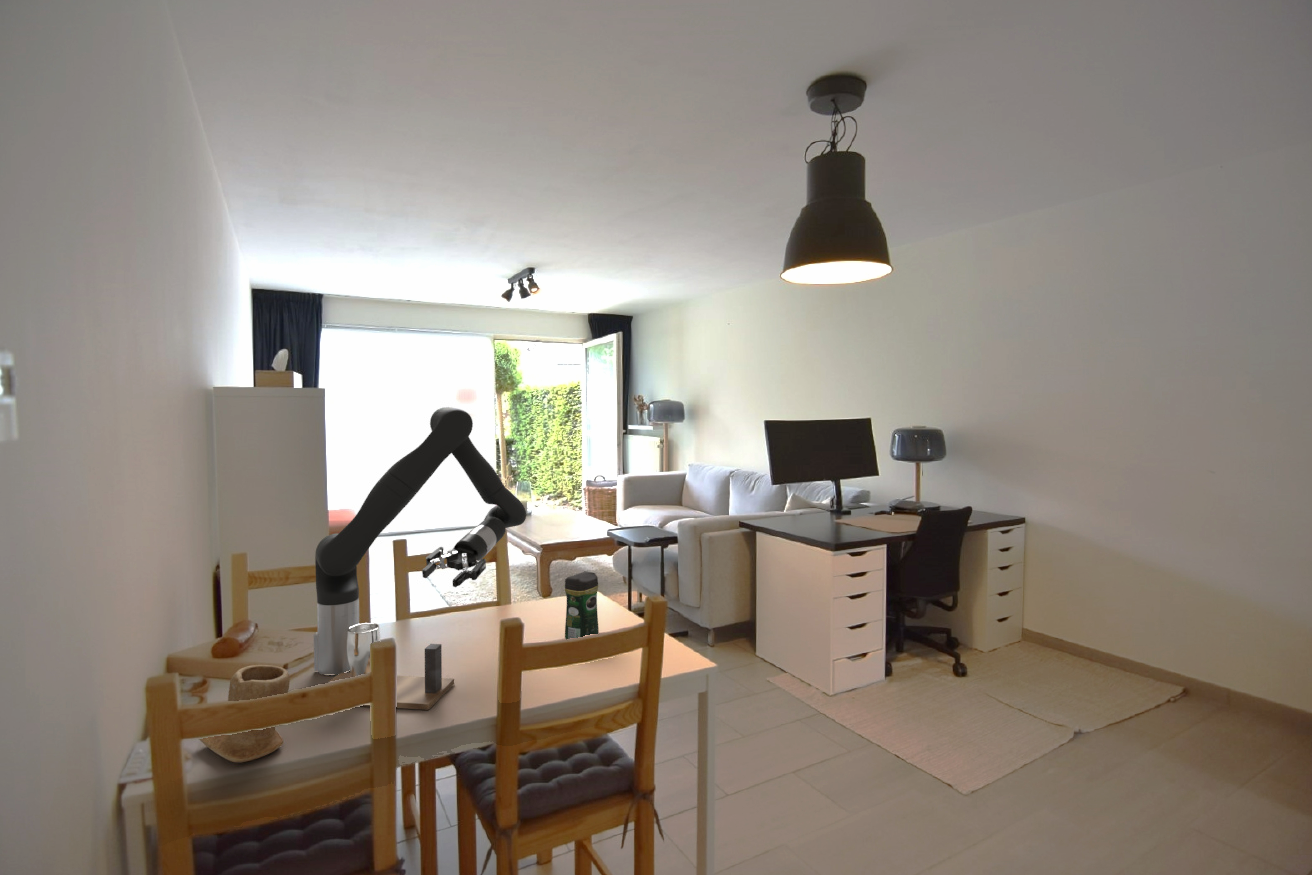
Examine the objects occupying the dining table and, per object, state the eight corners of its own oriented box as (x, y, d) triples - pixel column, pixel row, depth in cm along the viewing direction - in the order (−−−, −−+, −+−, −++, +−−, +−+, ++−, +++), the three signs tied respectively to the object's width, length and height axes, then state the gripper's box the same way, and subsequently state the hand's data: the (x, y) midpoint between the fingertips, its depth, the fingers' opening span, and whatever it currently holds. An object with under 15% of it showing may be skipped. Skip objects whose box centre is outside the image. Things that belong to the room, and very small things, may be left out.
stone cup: (302, 745, 120) (301, 668, 120) (232, 774, 110) (230, 691, 110) (265, 722, 129) (263, 650, 128) (197, 748, 119) (195, 670, 118)
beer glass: (387, 688, 145) (387, 624, 144) (364, 701, 138) (363, 634, 138) (364, 684, 147) (363, 620, 147) (340, 696, 141) (339, 630, 140)
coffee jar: (581, 630, 184) (581, 567, 184) (602, 635, 180) (603, 571, 179) (559, 640, 176) (559, 575, 175) (581, 646, 172) (581, 579, 171)
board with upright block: (305, 702, 137) (305, 651, 137) (341, 677, 150) (340, 631, 149) (428, 709, 134) (428, 658, 134) (454, 683, 147) (453, 636, 147)
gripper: (452, 526, 167) (412, 559, 153) (499, 539, 164) (463, 574, 149) (453, 550, 170) (414, 584, 156) (499, 563, 167) (464, 599, 153)
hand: (438, 579), depth 153 cm, fingers open, 8 cm apart
